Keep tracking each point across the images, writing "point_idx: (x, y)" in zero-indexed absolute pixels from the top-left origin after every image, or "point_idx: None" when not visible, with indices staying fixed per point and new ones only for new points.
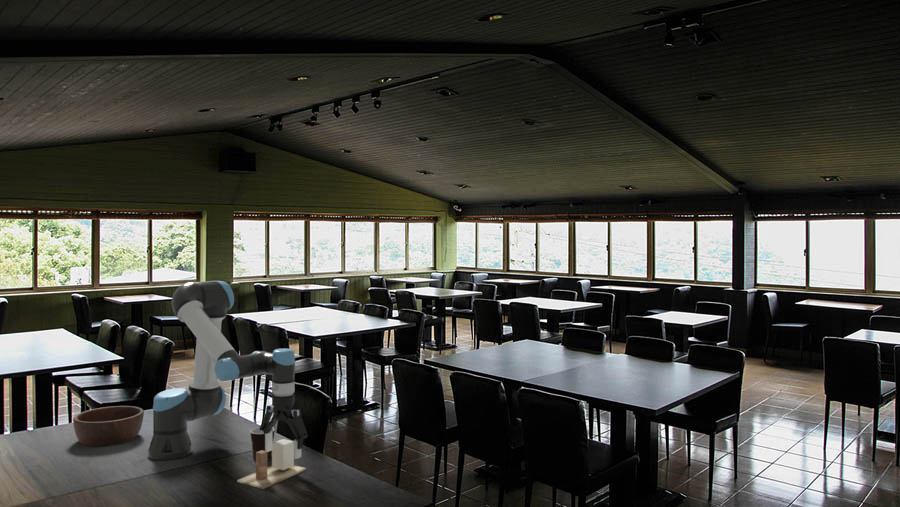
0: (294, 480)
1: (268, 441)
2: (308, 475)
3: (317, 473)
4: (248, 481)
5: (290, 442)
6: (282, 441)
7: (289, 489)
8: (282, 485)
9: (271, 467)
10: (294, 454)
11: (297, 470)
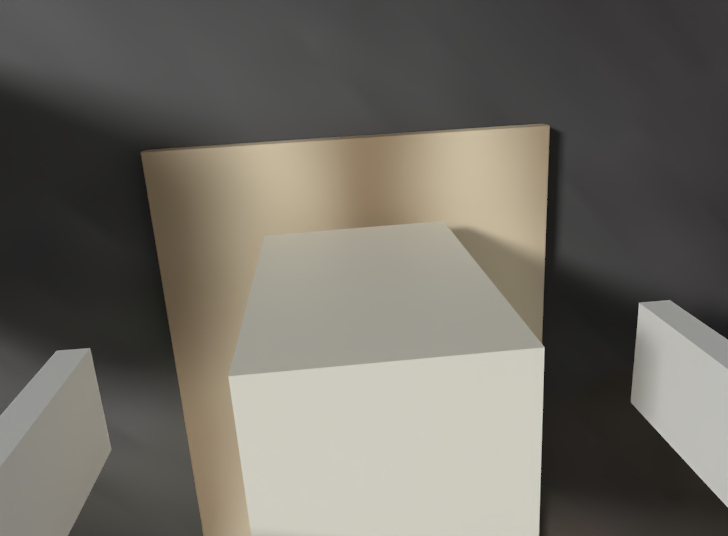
0: (624, 383)
1: (47, 528)
2: (666, 223)
3: (718, 128)
4: None
5: (538, 433)
6: (359, 479)
7: (710, 523)
8: (605, 506)
9: (209, 330)
10: (664, 435)
11: (515, 232)
